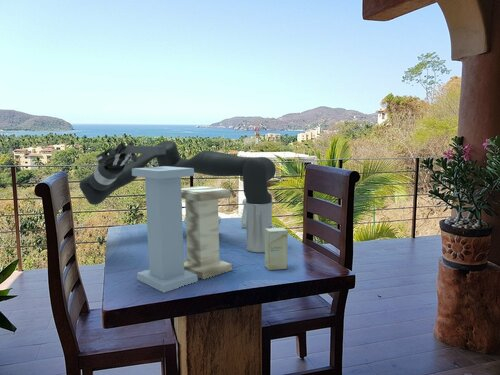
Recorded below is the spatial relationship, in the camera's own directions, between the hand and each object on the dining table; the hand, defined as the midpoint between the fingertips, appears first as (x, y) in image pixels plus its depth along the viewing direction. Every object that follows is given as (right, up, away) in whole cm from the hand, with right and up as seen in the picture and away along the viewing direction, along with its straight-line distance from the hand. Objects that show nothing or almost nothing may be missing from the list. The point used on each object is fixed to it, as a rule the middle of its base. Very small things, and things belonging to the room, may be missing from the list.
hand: (128, 144), depth 119 cm
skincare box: (+46, -38, +1) cm, 60 cm away
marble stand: (+23, -39, 0) cm, 45 cm away
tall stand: (+14, -40, -9) cm, 43 cm away
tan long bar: (+5, -3, -4) cm, 7 cm away
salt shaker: (+37, -32, +56) cm, 74 cm away
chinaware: (+18, -34, +40) cm, 56 cm away
